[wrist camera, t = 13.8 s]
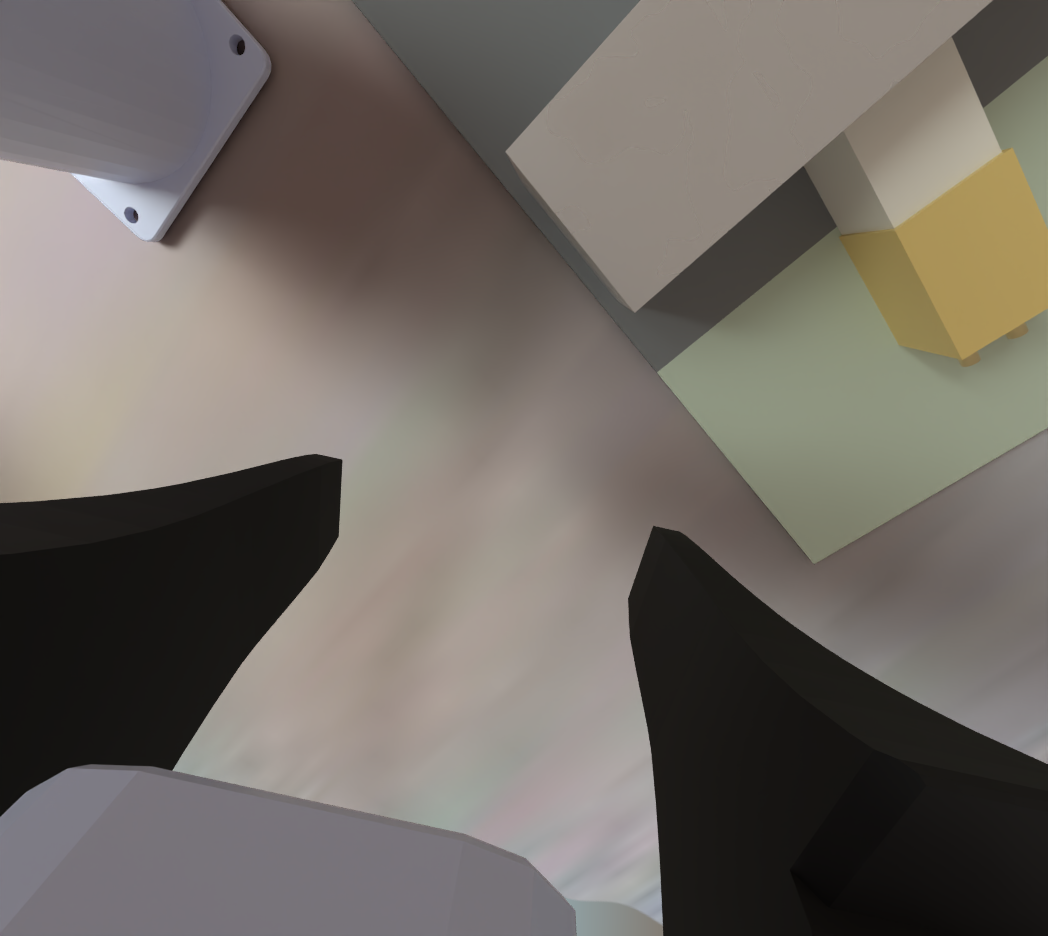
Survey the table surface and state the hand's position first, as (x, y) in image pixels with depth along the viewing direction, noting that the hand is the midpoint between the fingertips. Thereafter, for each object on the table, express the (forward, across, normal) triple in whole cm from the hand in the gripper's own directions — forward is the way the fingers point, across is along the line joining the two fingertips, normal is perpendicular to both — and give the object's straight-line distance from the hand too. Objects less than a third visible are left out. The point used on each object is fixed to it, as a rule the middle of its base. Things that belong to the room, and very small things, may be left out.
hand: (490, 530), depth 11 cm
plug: (+9, -8, -11) cm, 16 cm away
